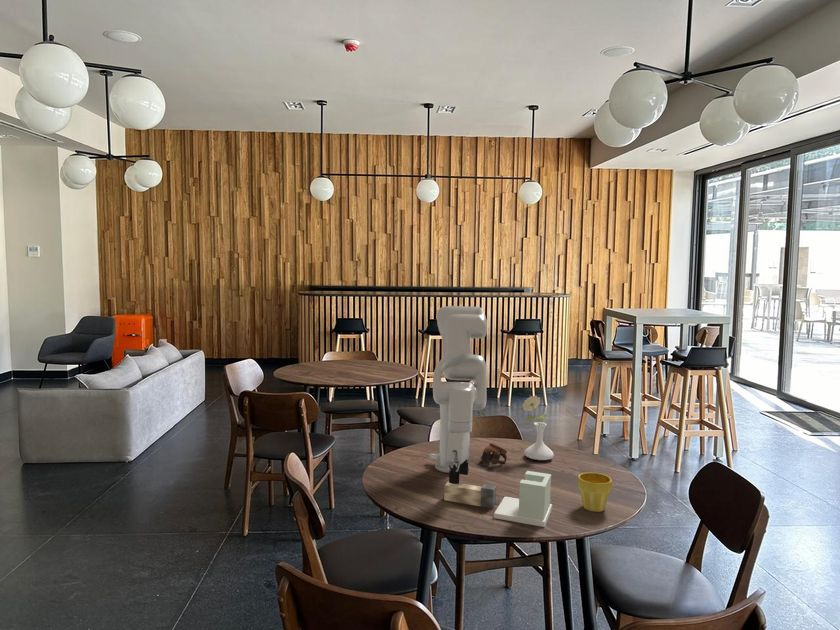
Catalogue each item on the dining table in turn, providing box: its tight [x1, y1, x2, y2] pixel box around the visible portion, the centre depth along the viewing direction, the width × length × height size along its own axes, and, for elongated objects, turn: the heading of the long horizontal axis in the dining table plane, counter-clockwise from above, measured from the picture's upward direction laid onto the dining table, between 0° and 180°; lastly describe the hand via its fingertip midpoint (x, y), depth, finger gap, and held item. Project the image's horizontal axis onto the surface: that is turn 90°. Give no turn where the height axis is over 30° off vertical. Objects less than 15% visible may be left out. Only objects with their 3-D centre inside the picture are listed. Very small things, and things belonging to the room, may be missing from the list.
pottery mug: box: [480, 443, 508, 466], centre depth 228 cm, size 12×10×8 cm
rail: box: [443, 480, 497, 509], centre depth 190 cm, size 16×4×6 cm, turn 69°
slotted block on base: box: [493, 470, 553, 528], centre depth 183 cm, size 15×14×12 cm
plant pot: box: [577, 471, 613, 513], centre depth 188 cm, size 10×10×10 cm
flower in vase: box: [521, 395, 555, 461], centre depth 235 cm, size 13×11×25 cm
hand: (458, 478), depth 191 cm, fingers open, 9 cm apart
